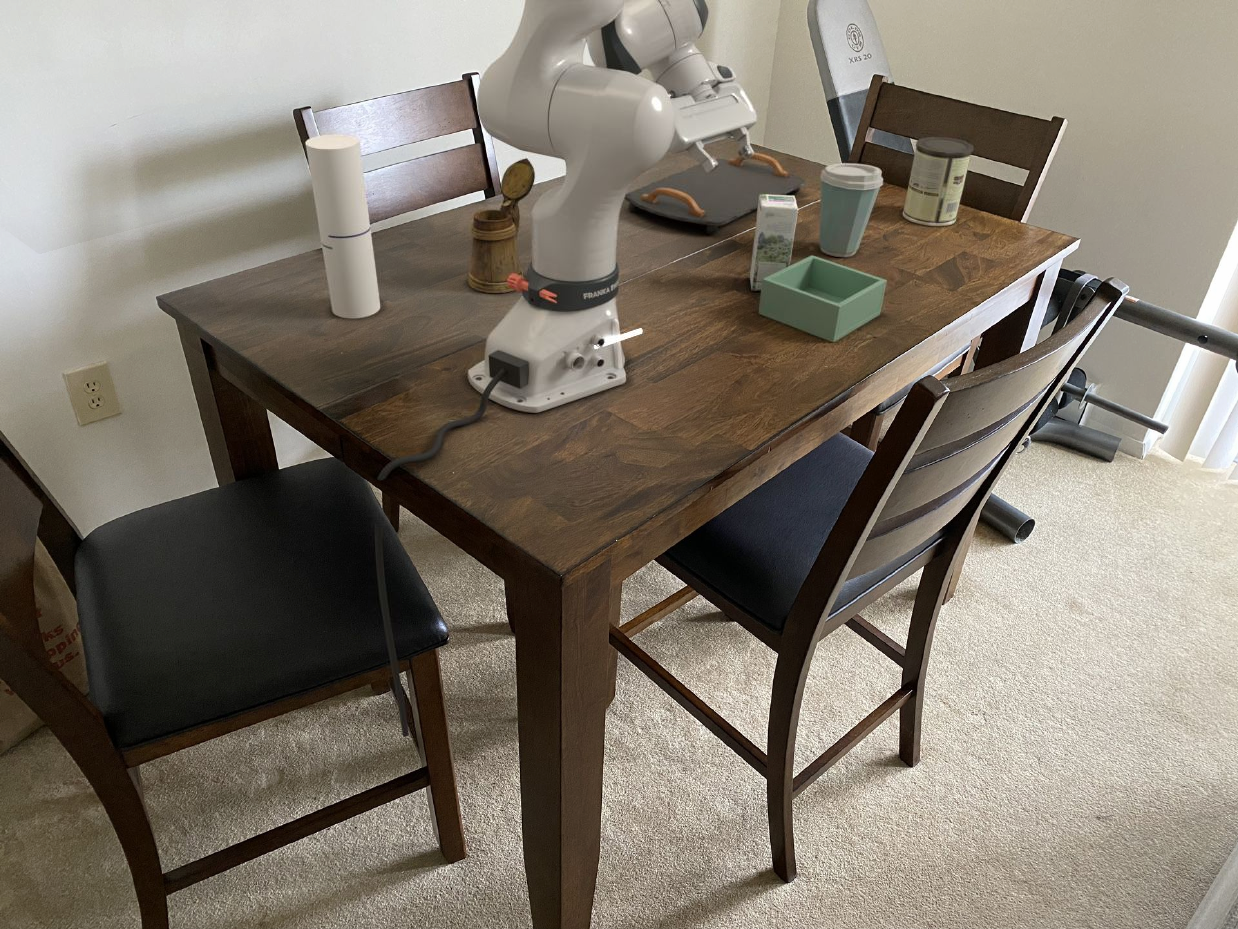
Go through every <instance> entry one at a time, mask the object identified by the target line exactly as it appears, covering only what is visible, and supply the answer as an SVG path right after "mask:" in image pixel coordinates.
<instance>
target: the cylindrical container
mask: <svg viewBox="0 0 1238 929" xmlns="http://www.w3.org/2000/svg"><path fill="white" fill-rule="evenodd" d="M305 148H306V154H307V161H308V167H309V173H310V179H311V185H312V192H313V199H314V206H315V211H316V217H317V222H318V231H319V237H320V242H321V249H322V255H323V261H324V268H325V273H326V279H327V286H328V293H329V298H330V306H331V311H332V313H333V315H335V316H337V317H339V318H342V319H343V318H344V319H361V318H367V317H371V316H372V315H374V314H376V313H378V312H379V311H380V310H381V302H380V301H381V300H380V294H379V293H380V292H379V284H378V277H377V270H376V269H377V268H376V262H375V255H374V254H375V252H374V246H373V238H372V230H371V222H370V215H369V206H368V199H367V191H366V183H365V175H364V168H363V159H362V152H361V142H360V138H358V137H356V136H353V135H349V134H341V133H336V134H335V133H332V134H331V133H330V134H322V135H316V136H313V137H310V138H308V139H307V140H306V141H305Z"/></svg>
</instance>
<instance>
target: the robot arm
mask: <svg viewBox="0 0 1238 929" xmlns="http://www.w3.org/2000/svg"><path fill="white" fill-rule="evenodd" d="M708 18H709V8H708V5H707V3H706V1H705V0H524V6H523V11H522V16H521V18H520V21H519V25H518V28H517V30H516V32H515V34H514V37H513V39H512V40H511V42H510V44H509V46H508V47H507V48H506V50H504V53H502V54H501V55H500V56H499V57H498V58H497V59H496V60H494V61H493V62H492V63H491V64H489V66H488V68H487V69H486V70H485V72H484V73H483V75H482V77H481V79H480V81H479V84H478V88H477V94H476V106H477V107H476V108H477V113H478V117H479V121H480V123H481V125H482V128H483V129H484V130H485V132H486V133H487V134H488V135H489V136H491V137H493V139H496V140H498V141H500V142H502V143H504V144H506V145H508V146H510V147H513V148H515V149H517V150H519V151H522V152H527V153H531V154H535V155H536V154H537V155H541V156H545V157H550V158H556V159H560V160H563V161H564V163H565V176H564V177H565V178H564V181H563V183H562V184H559V185H557V186H555V187H553V188H551V189H549V190H547V191H545V192H544V193H542V194H541V195H540V196H539V197H538V199H536V201H535V203H534V204H533V206H532V209H531V212H530V240H531V242H530V243H531V246H530V248H531V261H530V262H529V265H528V268H527V271H526V275H525V277H524V276H523V277H520V276H519V275H517V274H515V273H513V274H511V275H510V276H509V278H508V279H507V281H508V282H507V284H508V285H507V286H508V287H509V288H511V289H515V290H514V291H516V292H518V293H521V296H520V298H518V300H517V301H516V302H515V303H514V305H513V306H512V307H511V308H510V309H509V310H508V312H507V313H506V314H505V315H504V317H502V319H501V320H500V321H499V322H498V323H497V325H496V326H495V327H494V328H493V329H492V330H491V332H490V333H489V334H488V336H487V339H486V342H485V349H484V359H483V360H482V361H480V362H478V363H477V364H475V365H474V366H472V367H471V368H469V369H468V370H467V379H468V382H469V384H470V385H471V386H472V388H474V389H475V390H476V391H477V392H478V393H480V394H481V398H480V403H479V407H478V409H477V411H476V412H475V413H474V414H472V415H471V416H469V417H467V418H463V419H462V418H461V419H458V420H454V421H450V422H447V423H445V424H444V425H442V426H441V427H439V429H438V430H437V432H436V434H435V437H434V441H433V445H432V447H431V448H429V450H427V451H425V452H423V453H421V454H415V455H410V456H402V457H399V458H396V459H394V460H392V461H390V462H388V464H386V465H385V467H383V469H382V470H381V471H380V472H379V474H378V476H377V481H384V480H386V479H387V477H388V476H389V474H390V473H391V472H392V471H393V470H395V469H396V468H397V467H400V466H404V465H408V464H415V463H422V462H424V461H425V462H426V461H427V460H429V459H431V458H433V457H434V456H435V455H436V454H437V453H439V451H440V450H441V449H440V448H441V446H442V442H443V437H444V436H445V434H446V433H447V432H448V431H450V430H452V429H456V428H459V427H465V426H469V425H471V424H474V423H476V422H477V421H479V420H480V419H481V418H482V417H483V415H484V414H485V412H486V409H487V406H488V402H489V400H491V401H493V402H495V403H497V404H498V405H502V406H503V407H506V408H508V409H512V410H515V411H519V412H524V413H532V414H537V413H541V412H544V411H548V410H550V409H553V408H556V407H559V406H562V405H565V404H568V403H572V402H575V401H577V400H579V399H583V398H585V397H589V396H591V395H594V394H597V393H600V392H603V391H607V390H609V389H612V388H615V387H618V386H622V385H624V384H625V383H626V382H627V374H626V371H625V368H624V367H625V364H626V357H625V354H624V351H623V347H622V343H621V341H624V340H626V339H630V338H632V337H635V336H638V335H641V334H643V329H642V328H638V329H635V330H634V329H633V330H632V331H628V332H626V333H622V334H621V330H620V321H619V314H618V308H617V299H616V298H617V295H618V294H619V290H620V289H619V288H620V287H619V285H620V272H619V271H620V269H619V268H620V266H619V264H618V262H617V243H618V231H619V230H618V229H619V219H620V213H621V209H622V206H623V202H624V200H625V199H624V198H625V195H626V194H627V193H628V191H629V190H630V188H631V187H632V185H633V184H634V183H635V182H636V180H637V179H638V178H640V176H642V175H643V174H644V173H646V172H647V171H649V170H651V169H652V168H653V167H655V166H656V165H658V163H659V162H660V161H662V159H663V158H664V157H665V156H666V154H667V152H669V153H670V154H672V155H678V154H681V153H684V152H688V154H689V156H690V157H691V158H692V159H694V160H695V161H696V162H698V163H699V164H702V166H703V168H704V169H705V171H706V172H711V171H714V170H715V169H716V168H717V167H718V162H717V161H716V159H717V158H716V156H715V155H712V156H711V155H710V154H709V152H707V151H706V150H705V149H704V147H705V146H707V145H710V144H713V143H715V142H719V141H723V140H725V139H729V138H733V140H734V141H735V142H738V148H739V150H738V151H737V154H738V156H741V159H742V160H743V161H745V160H750V159H749V158H750V157H752V156H753V155H754V153H755V151H754V149H753V147H752V146H751V140H750V133H749V130H751V128H753V127H754V125H756V124H757V123H758V114H757V111H756V110H755V107H754V105H753V103H752V101H751V99H750V97H749V96H748V95H747V94H748V93H746V91H745V90H744V88H743V87H742V86H741V84H740V83H738V82H737V81H735V79H737V74H736V72H735V70H734V69H733V67H731V66H729V65H723V64H718V63H715V62H713V61H710V60H706V58H705V56H704V55H703V53H702V52H701V51H700V50H699V49H698V48H697V47H696V43H695V42H696V41H697V40H698V39H700V38H701V37H702V35H703V32H704V31H705V28H706V25H707V22H708ZM586 45H587V50H588V54H589V57H590V59H591V61H592V64H593V65H589V64H584V53H585V48H586ZM644 70H647V71H648V72H649V74H650V76H651V78H652V80H650V79H648V78H646V77H643V76H640V74H641V73H642V72H643V71H644ZM374 544H375V545H374V548H375V564H376V577H377V586H378V594H379V601H380V610H381V615H382V616H381V617H382V622H383V629H384V633H385V638H386V639H385V640H386V645H387V650H388V656H389V661H390V667H391V672H392V677H393V678H392V679H393V684H394V688H395V695H396V701H397V706H398V713H399V720H400V727H401V735H402V737H404V738H406V737H409V726H408V718H407V717H408V716H407V711H406V705H405V698H404V692H403V686H402V681H401V680H402V679H401V675H400V674H401V673H400V669H399V664H398V663H399V662H398V658H397V653H396V652H397V651H396V646H395V641H394V635H393V628H392V622H391V616H390V610H389V603H388V594H387V587H386V578H385V564H384V548H383V547H384V546H383V525H381V524H379V523H378V522H374Z"/></svg>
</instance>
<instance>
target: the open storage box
mask: <svg viewBox="0 0 1238 929" xmlns="http://www.w3.org/2000/svg"><path fill="white" fill-rule="evenodd" d="M887 282H888V280H887V279H885V278H881V277H879V276H876V275H872V274H869V273H866V272H863V271H860V270H857V269H854V268H851V267H848V266H845V265H842V264H839V263H836V262H834V261H831V260H827V259H824V258H821V257H819V256H815V255H809V256H808V257H805V258H803V259H801V260H799V261H797V262H795V263H793V264H790V266H789V267H787V268H784V269H782V270H780V271H778V272H776V273H774V274H772V275H770V276H768V277H766V278H764V279H763V280H762V288H761V291H760V296H759V304H758V306H759V307H758V315H761V316H764V317H766V318H769V319H771V320H774V321H776V322H778V323H781V324H784V325H787V326H789V327H792V328H794V329H797V330H799V331H802V332H804V333H807V334H810V335H812V336H815V337H817V338H819V339H823V340H826V341H828V342H831V343H835V342H837V341H838V340H841V339H842V338H843V337H846V336H847V335H849V334H851V333H852V332H853V331H855V330H857V329H858V328H860V327H862V326H863V325H865V324H867V323H868V322H871V321H872V320H874V319H875V318H877V317H879V316H881V312H882V307H883V302H884V297H885V292H886V287H887Z"/></svg>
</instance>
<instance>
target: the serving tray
mask: <svg viewBox="0 0 1238 929" xmlns="http://www.w3.org/2000/svg"><path fill="white" fill-rule="evenodd" d="M715 159H716V161H717V162H718V167H717V168H716V169H715V170H714V171H711V172H706V171H705V169H704V168H703V166H702V164H700V163H699V164H696V165H694V166H691V167H689V168H686V169H685V170H682V171H680V172H675V173H673V174H671V175H668V176H666V177H663V178H662V179H659V180H657V181H653V182H651V183H649V184H647V185H644V186H641V188H637V189H634V190H633V191H632V190H631V191H629V192H627V193H626V195H625V198H624V200H625V201H626V202H627V203H628V209H629V212H630V213H634V214H635V213H638V211H639V210H640V209H641V210H643V211H646V212H648V213H650V214H653V215H657V216H660V217H662V218H663V217H664V218H667V219H671V220H675V221H679V222H685V223H686V222H687V223H692V224H696V225H697V224H698V225H703V226H705V225H706V228H705V231H706V233H707V235H708V236H710V237H713V236H716V234H717V233H718V230H719V228H718V227H721V226H724V225H727V224H729V223H730V222H732V221H735V220H737V219H739V218H741V217H743V216H744V215H747V214H749V213H751V212H752V211H755V210H758V202H759V195H760V194H767V195H787V194H789V193H790V194H791V195H793V196H795V195H797V194H798V193H799V192H800V190H801V188H802V187H803V186H806V184H807V182H806V181H805V180H804V179H803V178H802V177H799V176H797V175H794V174H792V173H790V172H789V171H786V170H784V169H783V167H782V166H781V164H780V163H779V162H778V161H777V160H776V159H775V158H774V157H771V156H770V155H767V154H763V153H760V152H754V155H753V156H752V157H750V158H749V159H748V160H755V161H759V162H763V163H765V164H767V165H769V166H767V165H765V164H758V163H753V162H748V161H744V160H742V159H741V156H740V155H738V156H737V157H736V158H733V157H732V158H729V159H725V158H715Z"/></svg>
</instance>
